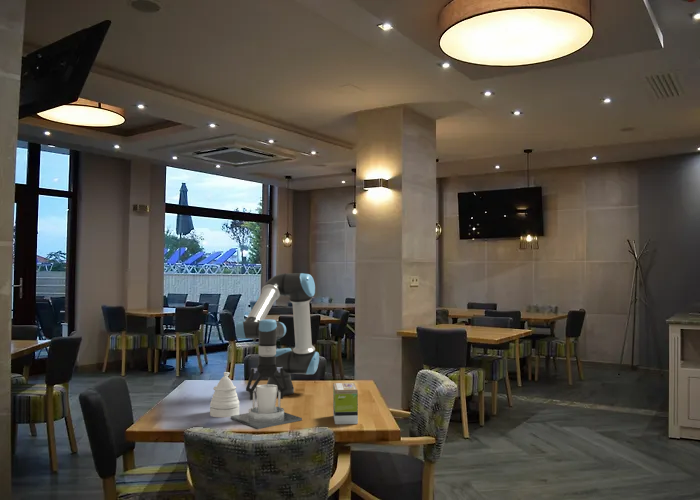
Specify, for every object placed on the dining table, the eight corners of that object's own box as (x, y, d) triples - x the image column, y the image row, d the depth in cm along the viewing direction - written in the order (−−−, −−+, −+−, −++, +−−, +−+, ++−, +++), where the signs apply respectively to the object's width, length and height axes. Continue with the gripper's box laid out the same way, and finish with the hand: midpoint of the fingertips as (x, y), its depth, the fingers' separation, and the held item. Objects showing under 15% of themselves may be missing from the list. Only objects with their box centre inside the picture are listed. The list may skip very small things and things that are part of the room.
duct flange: (273, 410, 261) (273, 402, 261) (301, 420, 244) (302, 410, 244) (230, 418, 246) (230, 409, 246) (257, 428, 230) (258, 418, 230)
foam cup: (281, 416, 246) (282, 386, 247) (265, 420, 239) (265, 388, 240) (267, 413, 252) (268, 383, 253) (250, 416, 245) (251, 386, 246)
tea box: (332, 415, 253) (332, 382, 254) (355, 415, 254) (355, 382, 254) (334, 424, 238) (334, 389, 239) (358, 424, 239) (358, 388, 239)
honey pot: (214, 410, 261) (215, 370, 262) (242, 410, 261) (242, 371, 261) (206, 417, 248) (207, 375, 249) (235, 417, 248) (236, 376, 249)
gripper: (240, 357, 241) (239, 409, 240) (294, 356, 245) (293, 408, 244) (240, 354, 248) (239, 405, 247) (292, 353, 252) (292, 404, 251)
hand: (266, 407), depth 245 cm, fingers open, 10 cm apart
